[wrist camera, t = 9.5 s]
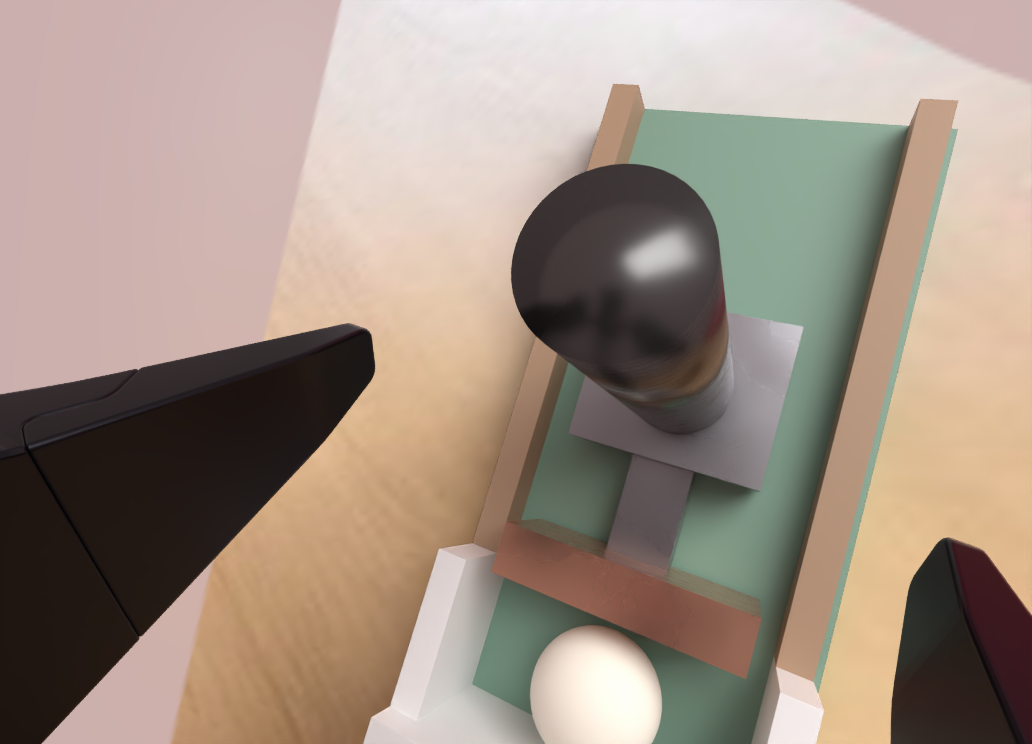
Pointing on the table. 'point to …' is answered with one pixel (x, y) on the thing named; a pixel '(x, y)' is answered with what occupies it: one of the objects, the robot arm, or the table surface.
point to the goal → (490, 720)
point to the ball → (595, 690)
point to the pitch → (806, 409)
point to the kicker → (648, 399)
